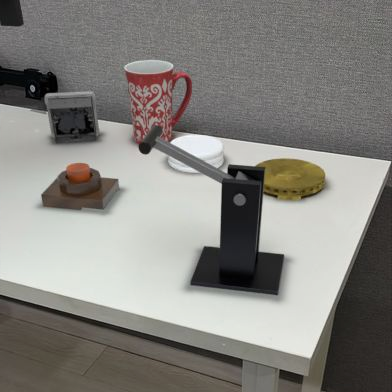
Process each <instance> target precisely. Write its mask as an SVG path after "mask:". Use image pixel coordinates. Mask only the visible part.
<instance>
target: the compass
mask: <svg viewBox="0 0 392 392" xmlns="http://www.w3.org/2000/svg"><path fill="white" fill-rule="evenodd" d="M255 166H257V167H265V180H264V192H265V193H267V194H270V195H275V196H277V200H284V201H299V200H301V199H302V197H304V196H310V195H312V194H316V193H318V192H319V191H321V190H324V188H325V181H326V172H325V170H324V169H323V168H322V167H320V166H319V165H318V164H315V163H314V162H311V161H307V160H303V159H299V158H298V159H297V158H286V157H285V158H280V157H279V158H272V159H267V160H264V161H261V162H258V163H257V164H255Z"/></svg>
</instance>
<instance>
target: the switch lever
mask: <svg viewBox="0 0 392 392" xmlns="http://www.w3.org/2000/svg"><path fill="white" fill-rule="evenodd" d="M162 134H163V129H162V128H161V127H160V126H159V125H154V126H153V127H152V128H151V129H150V131H149V132H148V133H147V135H146V136H145V137H144V139H143V140H142V141H141V142H140V144H138V151H139V153H140V154H142V155H146V156H147V155H149V154H150V153H151V152H152V150H153V149H155V150H157V151H159V152H161V153H163V154H165V155H167V156H168V157H169V156H170V157H172V158H174V159H176V160H178V161H180V162H182V163H183V164H185V165H187V166H189V167H191V168H193V169H195V170H197V171H198V172H200V173H199V174H202V175H204V176H206V177H208V178H210V179H212V180H214V181H215V182H217V183H219V184H221V185H222V180H223V178H228V179H240V180H252V181H256V180H255V179H253V178H251V177H249V176H247V175H245V174H243V173H242V172H240V171H238V173H237V175H236V177H235V178H234V177H233V176H231V175H229V174H227V172H225V171H223V170H222V169H219V168H216V167H214V166H212V165H210V164H208V163H207V162H205V161H203V160H201V159H199V158H197V157H195V156H194V155H192V154H190V153H188V152H186V151H184V150H182V149H180V148H179V147H177V146H175V145H173V144H171V143H170V142H167V141H166V140H164V139H162V138H160V137H161V136H162Z"/></svg>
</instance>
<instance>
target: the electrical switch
mask: <svg viewBox="0 0 392 392" xmlns="http://www.w3.org/2000/svg"><path fill="white" fill-rule="evenodd" d="M44 104H45V105H46V112H47V117H48V122H49V128H50V134H51V137H52V138H53V139H55V143H73V142H82V141H84V142H85V141H97V137H98V136H99V135H100V127H99V120H98V119H99V117H98V111H97V110H98V109H97V100H96V94H95V92H93V91H92V90H88V91H70V92H69V91H68V92H48V93H45V95H44Z"/></svg>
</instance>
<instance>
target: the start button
mask: <svg viewBox="0 0 392 392" xmlns="http://www.w3.org/2000/svg"><path fill="white" fill-rule="evenodd" d="M90 168H91V167H90V165H89V164H88V163H84V162H74V163H71V164H68V165H66V167H65V170H66V171H67V177H68V180H70V181H77V182H78V181H85V180H87V179H90V178H91V174H90Z"/></svg>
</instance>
